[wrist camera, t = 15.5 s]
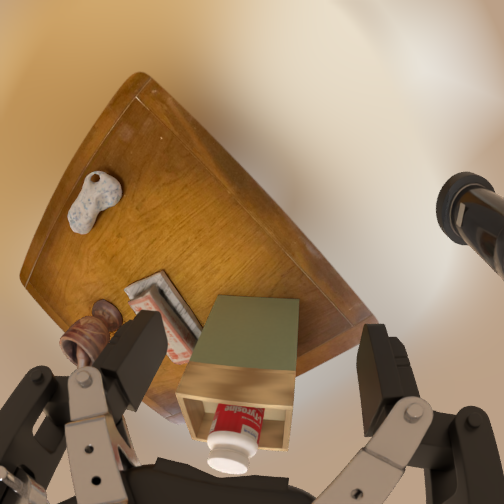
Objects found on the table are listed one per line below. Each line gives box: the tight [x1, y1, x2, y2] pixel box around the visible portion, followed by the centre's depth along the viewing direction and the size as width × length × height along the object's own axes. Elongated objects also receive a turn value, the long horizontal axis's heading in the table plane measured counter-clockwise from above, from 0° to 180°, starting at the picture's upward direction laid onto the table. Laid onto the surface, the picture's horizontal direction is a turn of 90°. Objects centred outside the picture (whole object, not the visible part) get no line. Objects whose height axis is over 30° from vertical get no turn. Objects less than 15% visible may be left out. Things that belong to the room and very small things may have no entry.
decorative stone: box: [68, 171, 122, 234], centre depth 45 cm, size 13×7×5 cm, turn 138°
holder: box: [175, 361, 296, 451], centre depth 36 cm, size 14×12×6 cm
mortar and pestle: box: [59, 299, 122, 369], centre depth 50 cm, size 12×9×20 cm
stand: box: [189, 295, 299, 371], centre depth 46 cm, size 14×12×16 cm
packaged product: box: [124, 271, 203, 365], centre depth 53 cm, size 18×5×10 cm
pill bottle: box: [207, 403, 265, 474], centre depth 33 cm, size 6×6×11 cm
